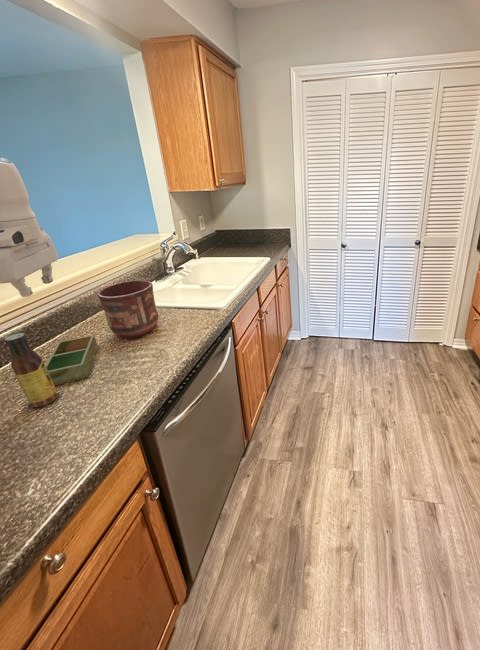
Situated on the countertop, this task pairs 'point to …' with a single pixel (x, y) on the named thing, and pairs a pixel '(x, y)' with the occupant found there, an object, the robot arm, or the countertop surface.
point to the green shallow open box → (72, 360)
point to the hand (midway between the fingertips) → (38, 288)
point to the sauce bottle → (30, 371)
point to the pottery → (130, 308)
